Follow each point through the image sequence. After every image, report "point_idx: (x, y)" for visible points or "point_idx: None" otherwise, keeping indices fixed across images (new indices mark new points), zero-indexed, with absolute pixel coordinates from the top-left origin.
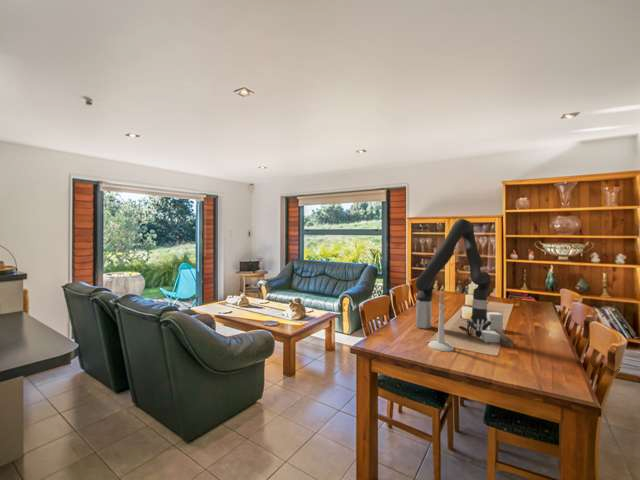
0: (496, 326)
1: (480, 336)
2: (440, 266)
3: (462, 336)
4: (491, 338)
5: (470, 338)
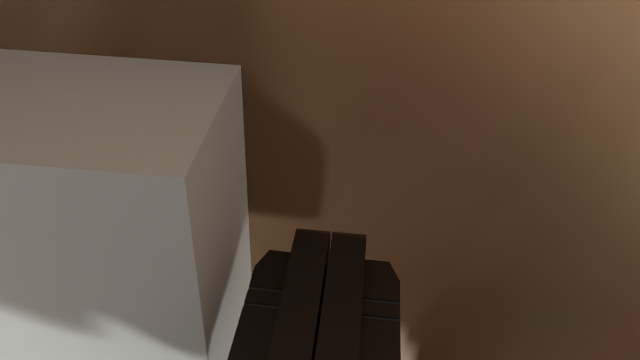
0: None
1: None
2: None
3: (602, 351)
4: (16, 99)
5: (493, 260)
